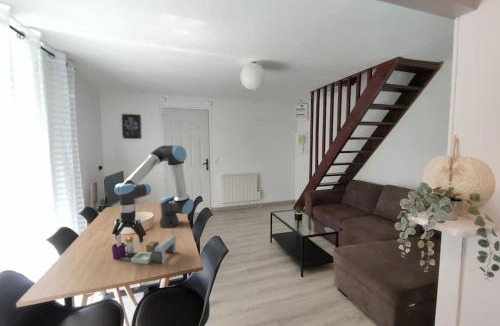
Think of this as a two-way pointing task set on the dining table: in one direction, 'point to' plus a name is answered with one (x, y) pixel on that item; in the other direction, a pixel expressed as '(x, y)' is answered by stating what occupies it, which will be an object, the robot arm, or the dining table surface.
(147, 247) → the chock
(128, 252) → the stop pin
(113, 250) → the mug
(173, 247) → the grey angle bracket
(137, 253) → the pin socket
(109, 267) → the dining table surface
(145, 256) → the tray
